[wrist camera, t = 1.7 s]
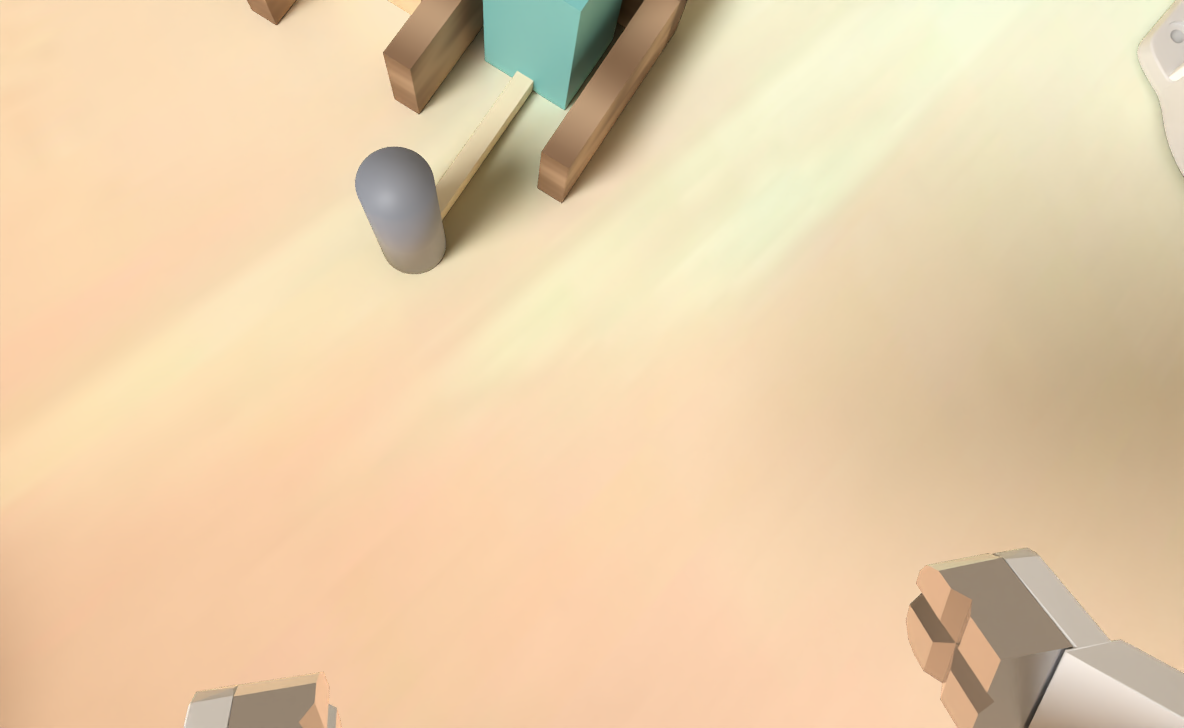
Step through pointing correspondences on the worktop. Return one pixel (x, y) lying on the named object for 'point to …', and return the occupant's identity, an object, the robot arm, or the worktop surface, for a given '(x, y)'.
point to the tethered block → (484, 119)
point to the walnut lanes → (649, 25)
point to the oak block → (406, 5)
